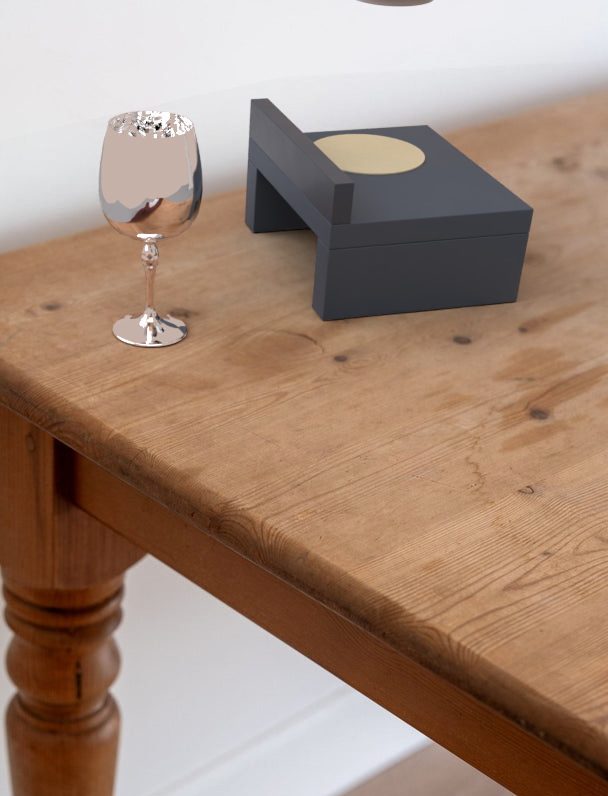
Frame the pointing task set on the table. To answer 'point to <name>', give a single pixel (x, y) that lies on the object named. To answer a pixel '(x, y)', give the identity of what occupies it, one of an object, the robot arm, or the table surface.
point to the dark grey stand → (386, 216)
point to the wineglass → (150, 202)
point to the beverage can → (396, 2)
